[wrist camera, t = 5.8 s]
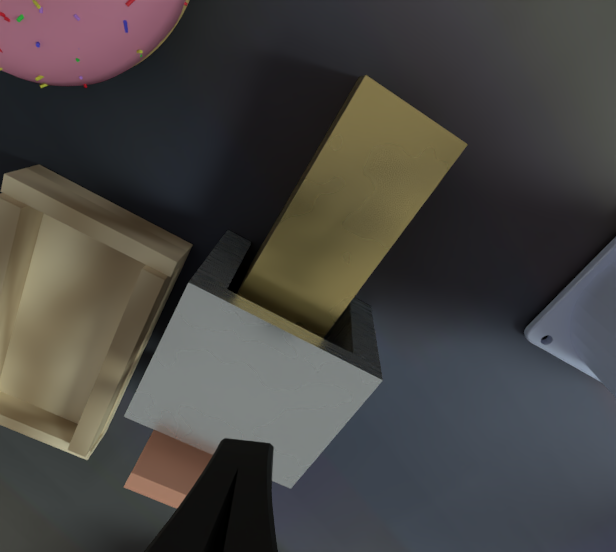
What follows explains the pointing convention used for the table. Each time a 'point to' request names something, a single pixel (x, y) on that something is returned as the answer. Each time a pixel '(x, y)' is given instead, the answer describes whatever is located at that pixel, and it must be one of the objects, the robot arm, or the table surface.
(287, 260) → the olive rectangular pillar
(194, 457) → the salmon pink block
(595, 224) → the table surface
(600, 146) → the table surface
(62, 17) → the doughnut
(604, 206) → the table surface
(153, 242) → the beige tray
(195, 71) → the table surface
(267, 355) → the socket sleeve
